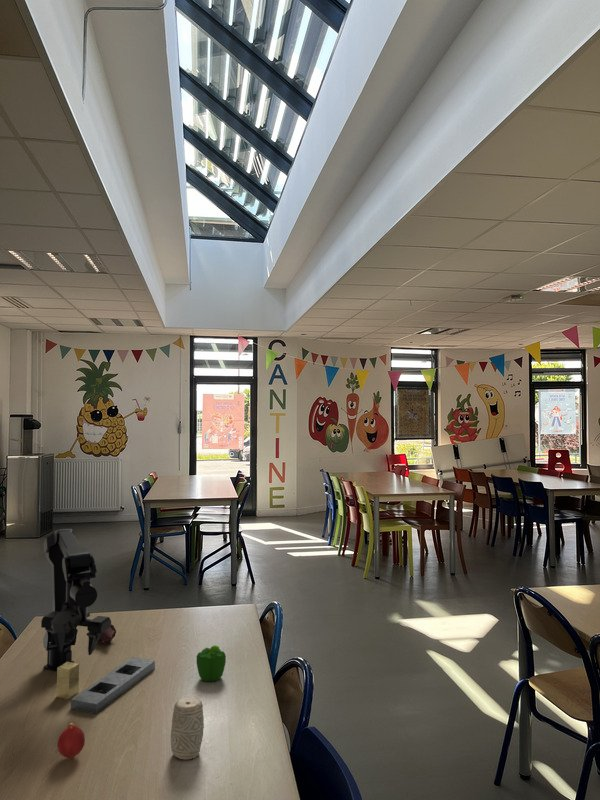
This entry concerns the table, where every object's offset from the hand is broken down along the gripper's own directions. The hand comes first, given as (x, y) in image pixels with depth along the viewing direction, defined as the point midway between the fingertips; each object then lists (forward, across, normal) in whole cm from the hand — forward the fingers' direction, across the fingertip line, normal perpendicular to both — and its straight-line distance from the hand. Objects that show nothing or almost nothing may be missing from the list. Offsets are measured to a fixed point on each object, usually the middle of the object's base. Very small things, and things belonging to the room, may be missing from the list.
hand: (75, 652), depth 160 cm
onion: (+11, +17, -27) cm, 34 cm away
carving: (+11, +42, -20) cm, 48 cm away
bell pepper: (+11, +34, +17) cm, 40 cm away
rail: (+11, +10, +6) cm, 16 cm away
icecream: (+12, -11, +34) cm, 38 cm away
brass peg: (+11, -1, -1) cm, 11 cm away
